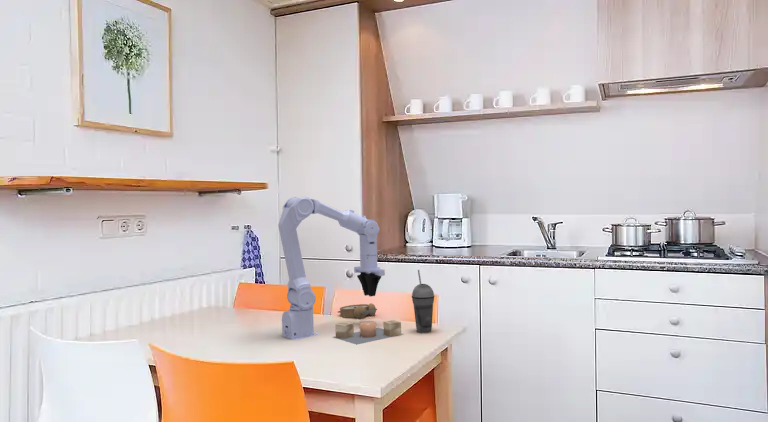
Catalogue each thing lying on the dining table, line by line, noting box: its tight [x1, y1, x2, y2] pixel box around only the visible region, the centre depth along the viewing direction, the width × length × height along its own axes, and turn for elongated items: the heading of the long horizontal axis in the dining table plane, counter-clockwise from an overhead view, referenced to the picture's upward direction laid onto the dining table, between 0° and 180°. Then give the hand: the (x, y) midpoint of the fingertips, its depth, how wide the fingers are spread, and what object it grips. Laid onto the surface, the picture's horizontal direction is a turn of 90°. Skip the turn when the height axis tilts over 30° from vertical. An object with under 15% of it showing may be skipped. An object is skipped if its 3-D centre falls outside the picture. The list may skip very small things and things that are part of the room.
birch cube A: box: [334, 321, 355, 339], centre depth 182 cm, size 4×4×4 cm
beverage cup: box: [411, 269, 435, 334], centre depth 186 cm, size 7×7×20 cm
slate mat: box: [332, 327, 404, 345], centre depth 183 cm, size 18×13×1 cm
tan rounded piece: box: [359, 320, 377, 338], centre depth 183 cm, size 5×5×4 cm
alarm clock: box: [337, 303, 378, 320], centre depth 218 cm, size 11×5×15 cm
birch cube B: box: [383, 319, 402, 338], centre depth 183 cm, size 4×4×4 cm
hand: (369, 295), depth 198 cm, fingers open, 2 cm apart
